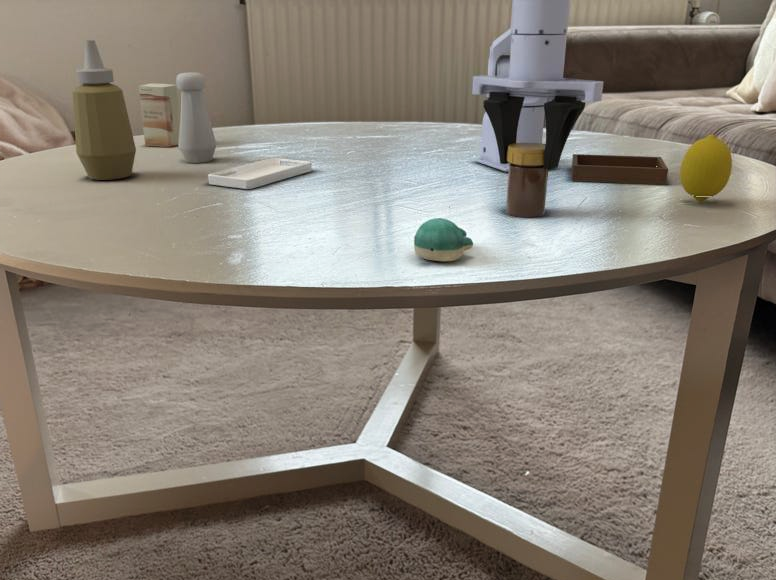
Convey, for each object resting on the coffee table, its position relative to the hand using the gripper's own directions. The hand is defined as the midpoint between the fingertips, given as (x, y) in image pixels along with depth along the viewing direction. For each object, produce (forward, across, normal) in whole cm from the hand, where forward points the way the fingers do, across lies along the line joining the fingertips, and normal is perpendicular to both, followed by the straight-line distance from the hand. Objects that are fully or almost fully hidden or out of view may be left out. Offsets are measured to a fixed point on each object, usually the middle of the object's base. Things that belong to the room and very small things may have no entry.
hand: (528, 165), depth 85 cm
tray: (+5, 0, +26) cm, 27 cm away
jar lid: (-2, 0, 0) cm, 2 cm away
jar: (+5, 0, 0) cm, 5 cm away
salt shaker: (+6, -57, -1) cm, 57 cm away
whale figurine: (+6, +2, -19) cm, 20 cm away
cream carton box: (+6, -74, +6) cm, 74 cm away
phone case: (+6, -39, -4) cm, 40 cm away
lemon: (+6, +14, +17) cm, 23 cm away
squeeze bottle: (+6, -57, -17) cm, 60 cm away
